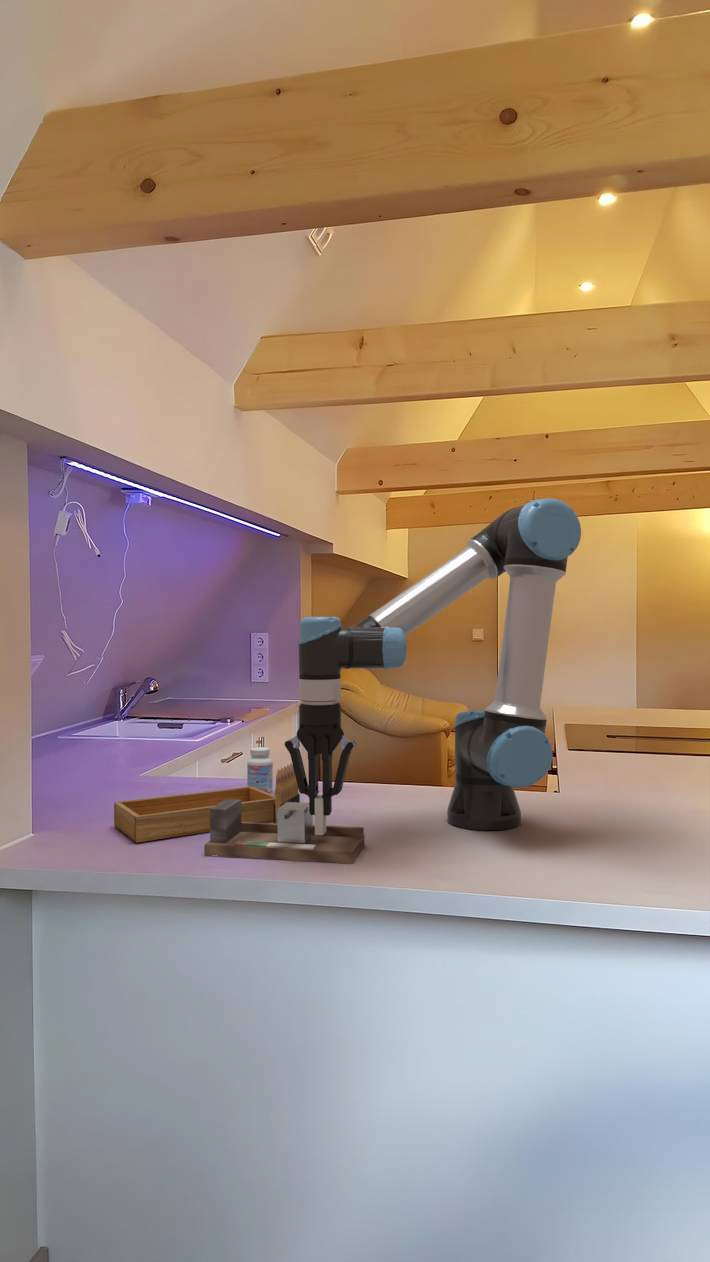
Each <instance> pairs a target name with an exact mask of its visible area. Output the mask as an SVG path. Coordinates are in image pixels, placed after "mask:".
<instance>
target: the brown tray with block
mask: <svg viewBox="0 0 710 1262" xmlns="http://www.w3.org/2000/svg"><path fill="white" fill-rule="evenodd" d="M364 829H365V828H364V827H363V826H361V827H360V826H343V825H342V826H341V825H326V832H325V833H324V834H323V835H315V824H313V836H312V837H311V838H310V839H309V840H308V841H307V842H306V843H305V844H295V843H278V825H277V823H274V822H273V823H258V822H241V800H235V799H226V800H224V801H222V802H221V803H219V804H217V805H216V806H214V807H213V808H211V809H210V832H209V835H210V836H209V838H210V839H209V840H208V841H207V842H205V844H204V847H203V848H204V849H203V850H204V856H205V855H217V856H216V857H221V856H233V857H232V858H239V857H246V858H245V859H257V858H261V859H262V860H274V859H276V860H277V861H294V862H311V863H312V862H314V863H316V862H317V863H331V864H348V865H353V864H354V862H355V861H356V859H357V858H358V856H359V854H360V853H361V852H362V851H363V849H364V847H365V845H366V844H365V842H366V841H365V840H366V839H365V833H364V832H365V830H364ZM264 858H265V859H264ZM261 859H260V860H261ZM276 860H275V861H276Z"/></svg>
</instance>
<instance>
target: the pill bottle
mask: <svg viewBox="0 0 710 1262" xmlns="http://www.w3.org/2000/svg"><path fill="white" fill-rule="evenodd" d="M270 749H271V748H269V747H262V746H258V747H252V748H250V749H249V750H250V751H249V752H250V753H249V754H250V756H251V757H250V758H248V760H247V773H246V774H247V777H246V778H247V786H246V787H249V786H251V787H254V788H257V789H259V790H262V791H264V792H267V793H269V794H272V795H273V787H274V786H273V772H274V771H273V766H274V765H273V763H274V762H273V759H272V758H271V757H269V756H270V754H271V753H270V751H271V750H270Z"/></svg>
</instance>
